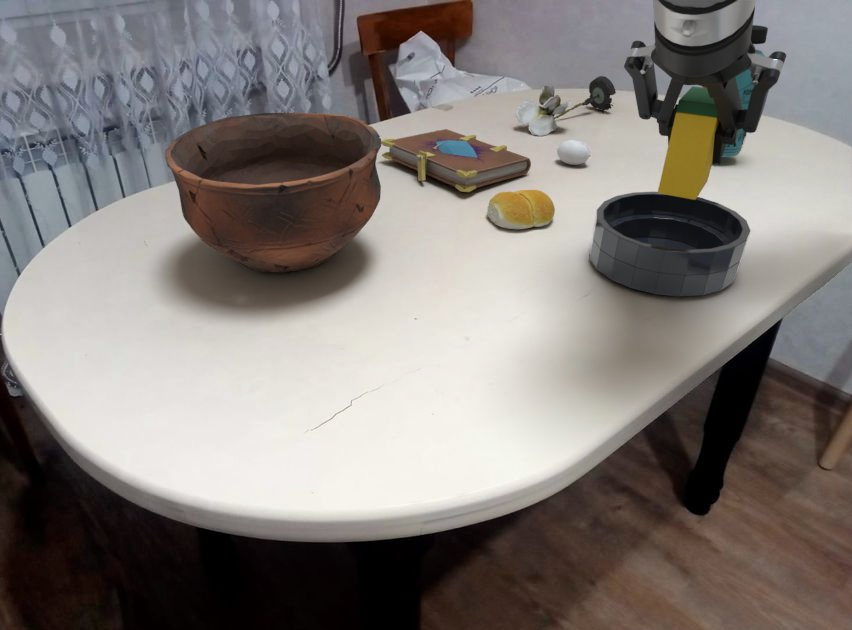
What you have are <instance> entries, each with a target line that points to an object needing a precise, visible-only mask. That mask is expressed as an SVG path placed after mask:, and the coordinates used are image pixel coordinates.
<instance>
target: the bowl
mask: <svg viewBox="0 0 852 630" xmlns="http://www.w3.org/2000/svg"><path fill="white" fill-rule="evenodd" d="M381 141H382V138H381V136H380V135H379V133H378V131H377V130H376V129H375V128H373V126H371V125H369V124H367V122H366V121H364V120H363V119H361V118H360V119H359V118H358V117H354V116H349V115H346V114H338V113H336V114H334V113H316V112H315V113H312V112H261V113H253V114H251V113H250V114H244V115H243V114H242V115H235V116H227V117H222V118H219V119H216V120H213V121H211V122H208V123H204V124H202V125H199V126H197V127H194V128H192V129H190V130H188V131H186V132H184V133H182V134H181V135H179V136H178V137H176V138H175V139H174V140H173V141H171V142H170V144H169V145H168V147H167V148H166V149H165V155H164V158H165V162H166V165H167V167H168V168H169V169H170V170H171V174H172V176H173V178H174V182H175V185H176V187H177V190H178V195H179V201H180V207H181V212H182V216H183V219H184V221H186V223H187V224H188V225H189V227H190V229H191V230H192V231H193V232H194V233H195V235H196V236H198V238H199V239H200V240H201V241H202V242H203V243H205V245H207V246H208V247H210V248H211V249H213V250H214V251H216V252H217V253H219V254H220V255H222V256H224V257H227V258H229V259H231V260H234V261H235V262H237V263H238V264H242V265H245V266H247V268H250V269H252V270H254V271H256V272H262V273H278V274H280V273H281V274H282V273H289V272H296V271H302V270H306V269H310V268H313V267H316V266H318V265H320V264H322V263H324V262H325V261H327V260H328V259H329V258H330V257H332V256H333V255H335V254H336V253H337V252H339V250H341V249H343V248H344V247H345V246H346V245H347V244H348V243H349V242H351V241H352V240H353V239H354V238H355V237H356V236H357V234H359V233H360V232H361V231H362V229H363V228H364V227H365V226H366V225H367V224H368V222H369V221H370V219H371V218H372V217H373V215H374V213H375V211H376V210H377V207H378V205H379V203H380V200H381V193H382V192H381V191H382V185H381V181H380V177H379V173H378V170H377V169H378V168H377V157H378V153H379V151H380V149H381V147H382V144H381Z"/></svg>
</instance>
